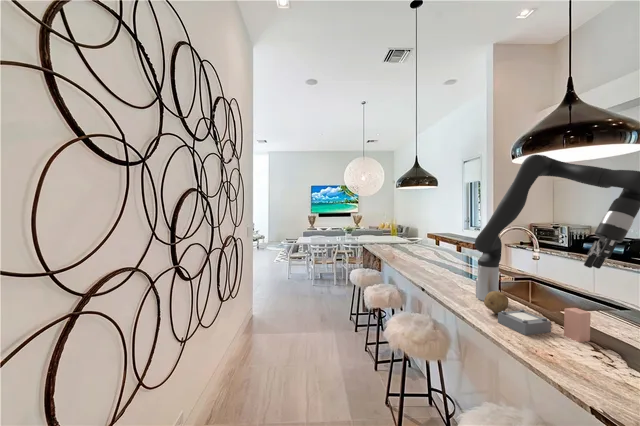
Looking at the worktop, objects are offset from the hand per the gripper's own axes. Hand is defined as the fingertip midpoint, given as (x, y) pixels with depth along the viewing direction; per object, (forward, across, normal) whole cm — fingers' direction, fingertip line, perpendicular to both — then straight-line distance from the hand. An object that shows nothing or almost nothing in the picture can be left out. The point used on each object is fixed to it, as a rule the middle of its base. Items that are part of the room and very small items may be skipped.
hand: (591, 267), depth 103 cm
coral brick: (+25, -1, +6) cm, 26 cm away
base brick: (+31, -3, -8) cm, 32 cm away
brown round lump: (+33, -14, -17) cm, 40 cm away
